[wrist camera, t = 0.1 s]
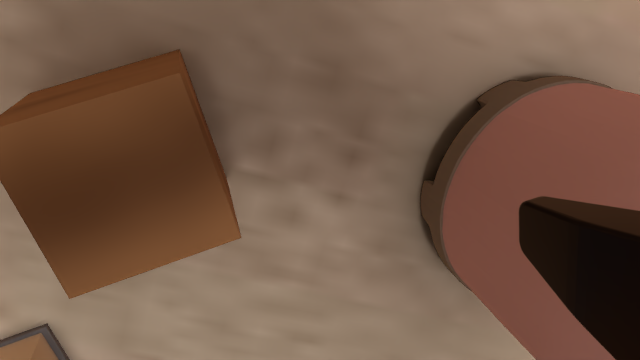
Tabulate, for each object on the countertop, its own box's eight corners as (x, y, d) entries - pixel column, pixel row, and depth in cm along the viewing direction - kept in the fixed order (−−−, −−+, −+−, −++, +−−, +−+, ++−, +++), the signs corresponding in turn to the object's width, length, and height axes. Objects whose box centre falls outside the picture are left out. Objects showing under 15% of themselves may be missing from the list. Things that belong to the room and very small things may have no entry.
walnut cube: (226, 177, 23) (241, 237, 17) (96, 221, 22) (69, 298, 16) (179, 49, 20) (179, 72, 15) (30, 93, 19) (-27, 134, 14)
